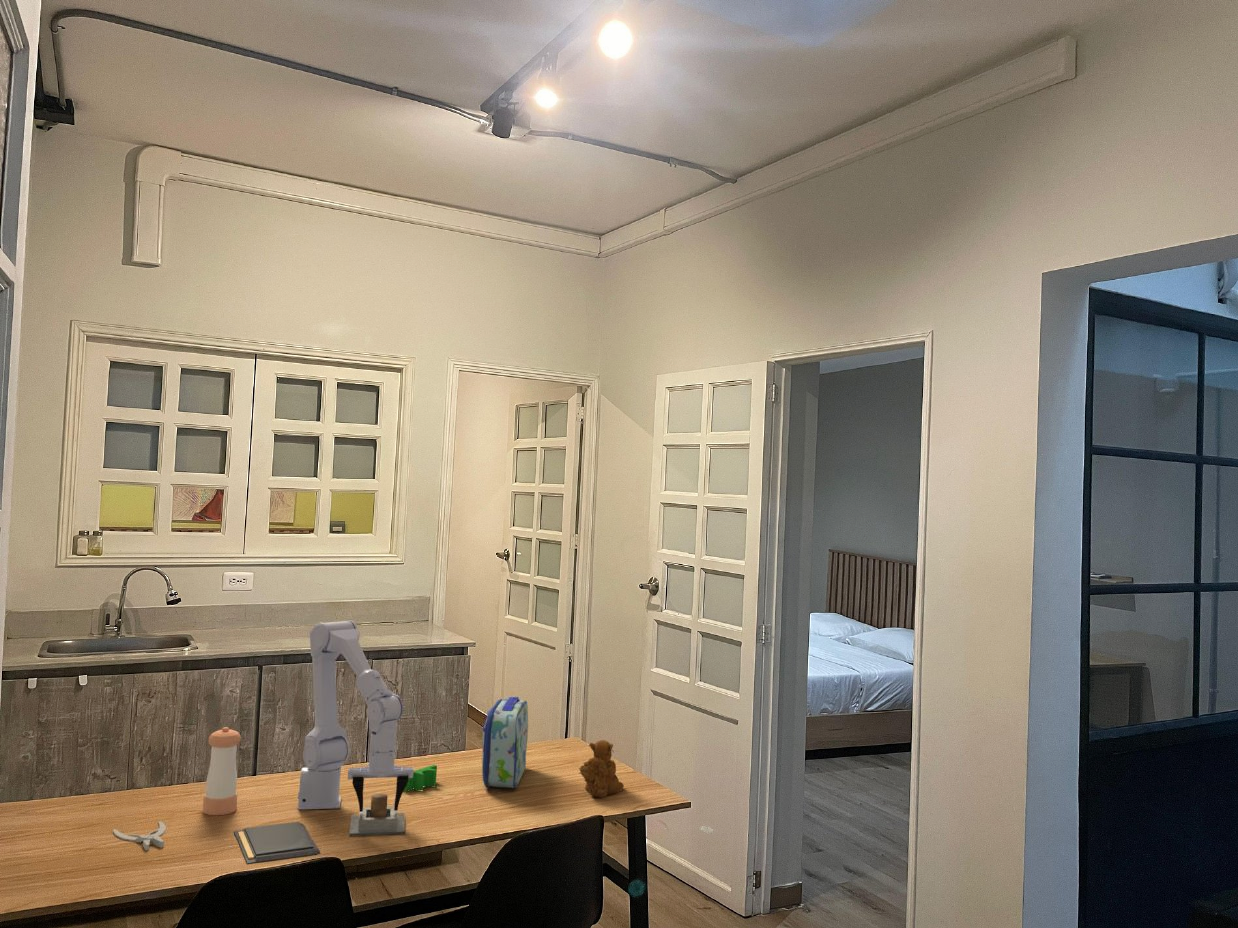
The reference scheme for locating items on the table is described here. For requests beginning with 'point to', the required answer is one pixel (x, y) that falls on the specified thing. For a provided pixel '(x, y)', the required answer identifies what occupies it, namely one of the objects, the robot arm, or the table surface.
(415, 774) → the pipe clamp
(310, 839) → the grey flat slab
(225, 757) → the pepper shaker
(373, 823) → the mount
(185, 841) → the table surface
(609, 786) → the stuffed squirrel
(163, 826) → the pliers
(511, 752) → the lunch box
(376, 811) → the cylinder
